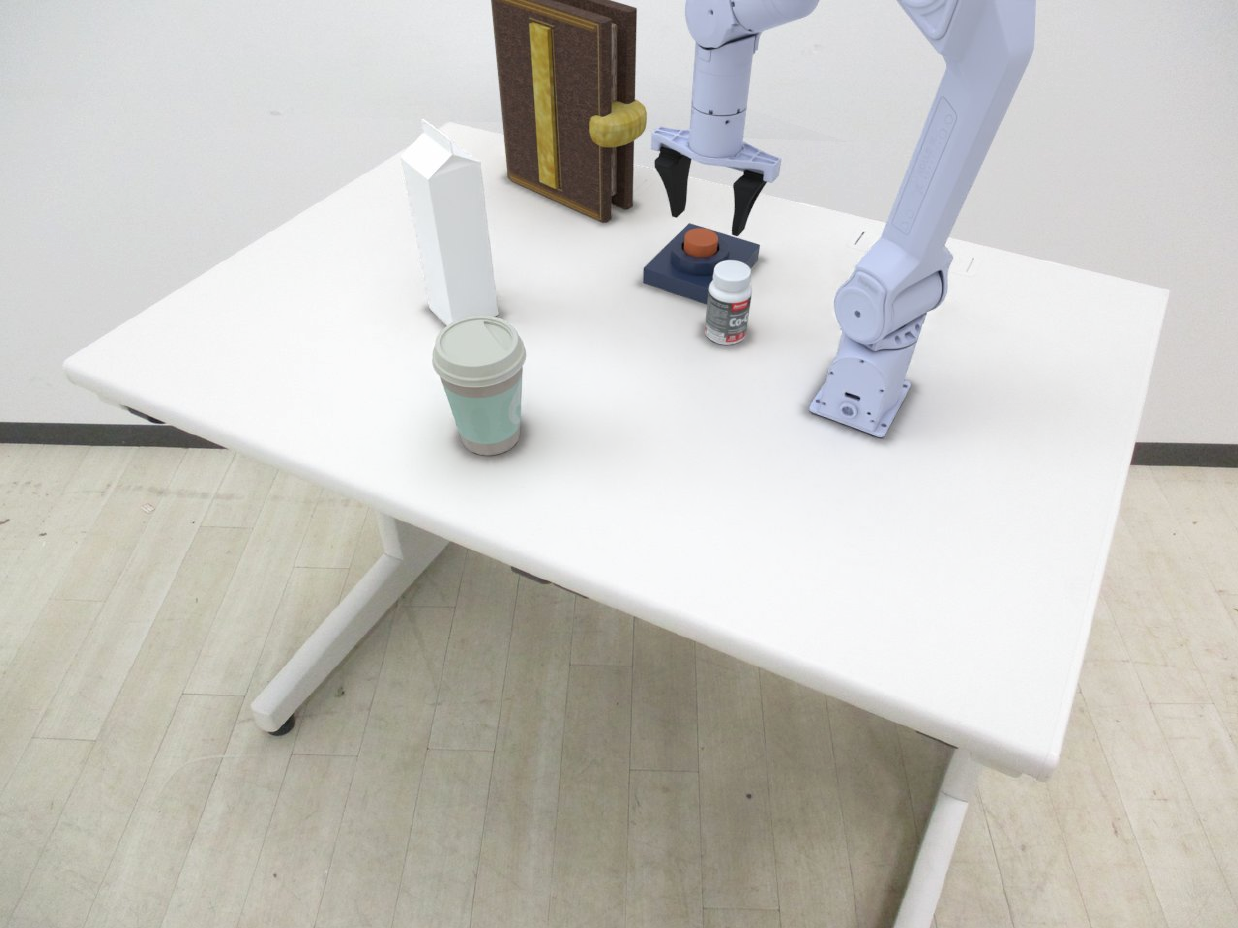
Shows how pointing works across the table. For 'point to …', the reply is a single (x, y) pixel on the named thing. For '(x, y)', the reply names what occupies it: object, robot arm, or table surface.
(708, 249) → the orange push button
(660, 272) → the block
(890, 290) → the robot arm
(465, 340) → the coffee cup
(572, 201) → the book
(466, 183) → the milk
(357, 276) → the table surface
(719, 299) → the pill bottle
